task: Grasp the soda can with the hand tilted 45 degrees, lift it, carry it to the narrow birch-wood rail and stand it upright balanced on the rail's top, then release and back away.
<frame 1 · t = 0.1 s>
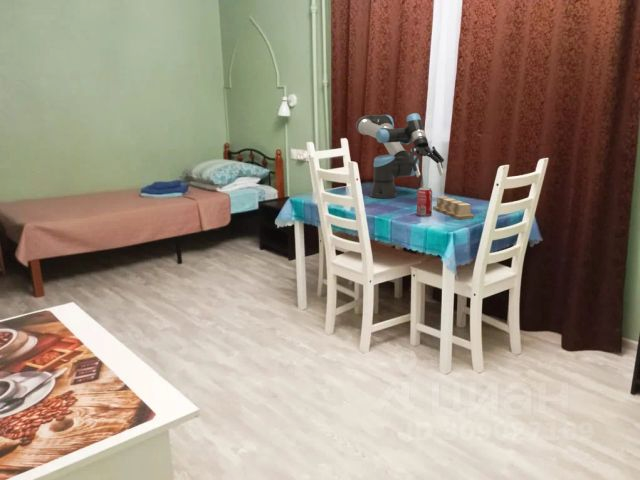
hand: (430, 175, 271), 15 cm above the table, tool tilted 35°, fingers open, 13 cm apart
soda can: (424, 215, 250), on the table
ridge: (452, 213, 252), on the table
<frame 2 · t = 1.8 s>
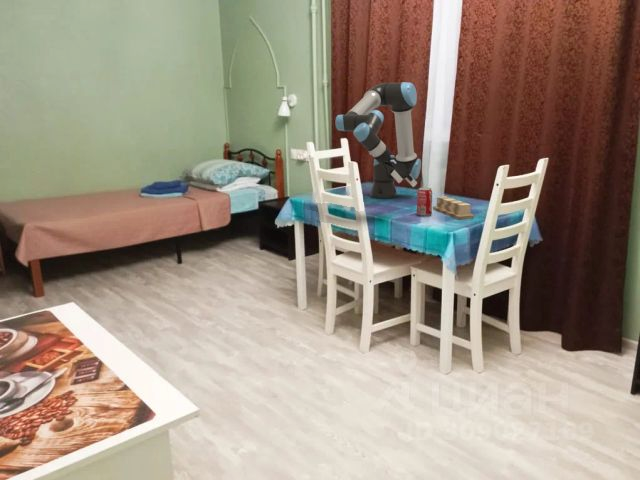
hand: (407, 183, 243), 16 cm above the table, tool tilted 45°, fingers open, 13 cm apart
nothing on the table moved.
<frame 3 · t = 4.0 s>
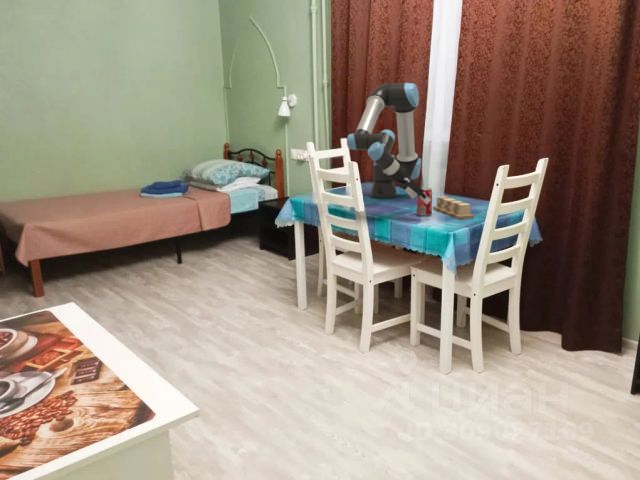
hand: (421, 199, 247), 8 cm above the table, tool tilted 45°, fingers open, 13 cm apart
nothing on the table moved.
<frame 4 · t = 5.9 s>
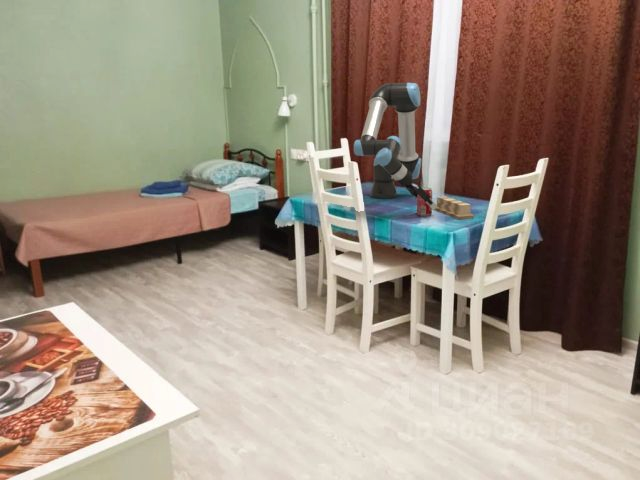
hand: (430, 206, 250), 4 cm above the table, tool tilted 45°, fingers closed on soda can, 7 cm apart
soda can: (424, 215, 250), on the table, touching gripper
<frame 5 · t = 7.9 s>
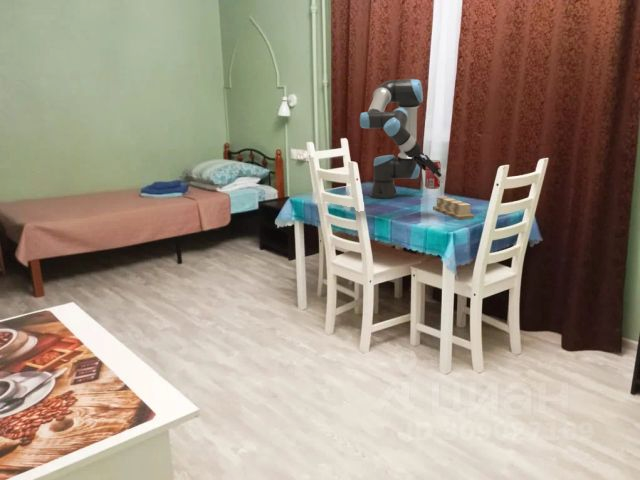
hand: (439, 179, 246), 17 cm above the table, tool tilted 45°, fingers closed on soda can, 7 cm apart
soda can: (432, 188, 246), point 13 cm above the table, touching gripper
when the fingers open (11 cm above the table, at t = 10.3 s): soda can stays where it is, resting on ridge.
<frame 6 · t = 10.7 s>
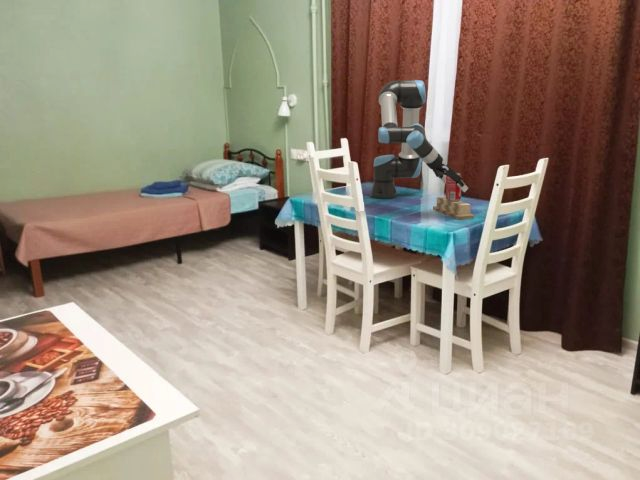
hand: (458, 187, 249), 13 cm above the table, tool tilted 45°, fingers open, 13 cm apart
soda can: (453, 200, 250), point 6 cm above the table, touching ridge
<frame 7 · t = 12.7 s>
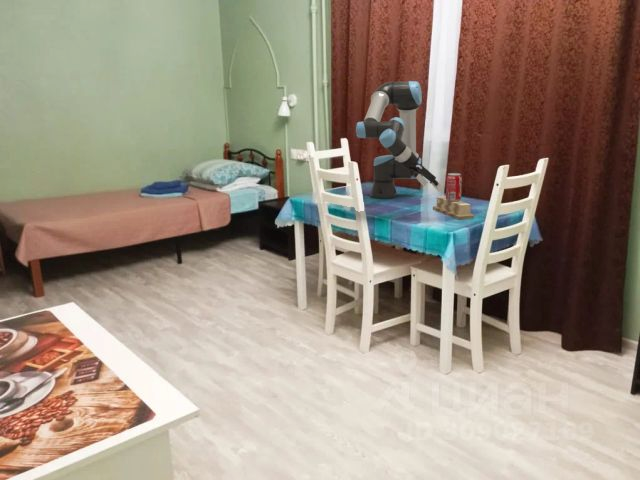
hand: (433, 186, 245), 14 cm above the table, tool tilted 45°, fingers open, 13 cm apart
nothing on the table moved.
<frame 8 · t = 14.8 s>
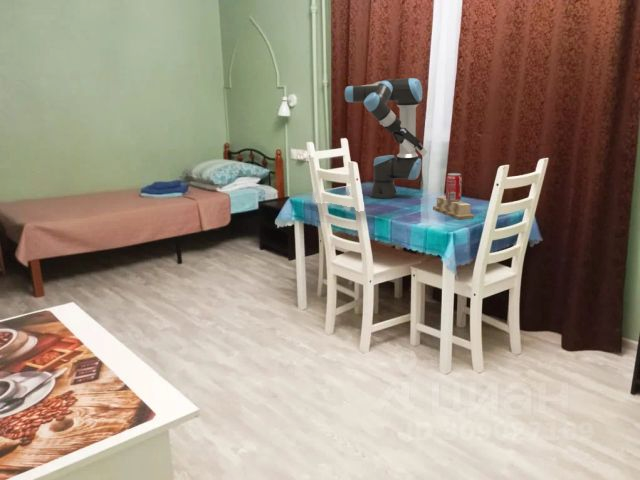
hand: (418, 152, 246), 30 cm above the table, tool tilted 45°, fingers open, 13 cm apart
nothing on the table moved.
at the end: soda can inside the target area on the ridge (0.1 cm from its centre), point 6.3 cm above the ridge's base; soda can tilted 0°; the gripper is holding nothing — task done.
